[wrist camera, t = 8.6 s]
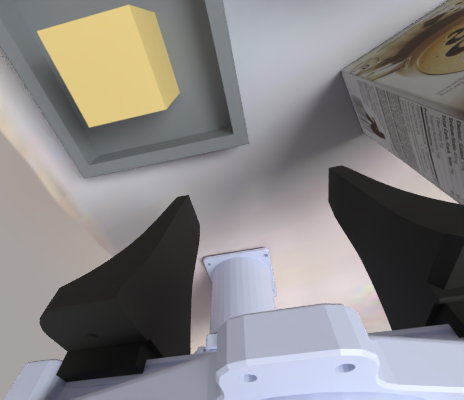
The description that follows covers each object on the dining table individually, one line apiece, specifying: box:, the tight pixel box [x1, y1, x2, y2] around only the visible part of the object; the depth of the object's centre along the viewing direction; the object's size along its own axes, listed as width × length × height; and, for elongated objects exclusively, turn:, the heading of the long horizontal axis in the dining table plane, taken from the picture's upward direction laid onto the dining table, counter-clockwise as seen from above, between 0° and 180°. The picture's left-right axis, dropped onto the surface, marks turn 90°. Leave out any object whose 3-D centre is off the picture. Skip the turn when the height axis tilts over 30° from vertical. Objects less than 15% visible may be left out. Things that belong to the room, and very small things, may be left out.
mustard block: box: [37, 5, 180, 128], centre depth 15 cm, size 5×5×5 cm
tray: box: [0, 0, 249, 178], centre depth 17 cm, size 14×14×3 cm
